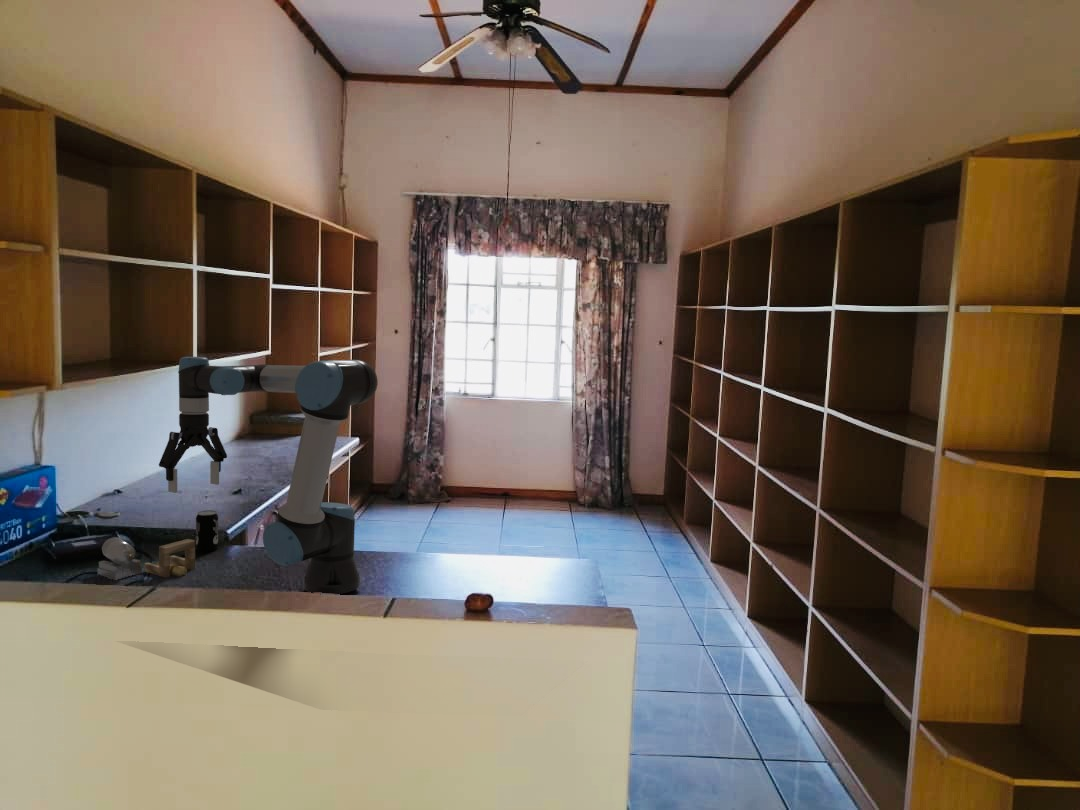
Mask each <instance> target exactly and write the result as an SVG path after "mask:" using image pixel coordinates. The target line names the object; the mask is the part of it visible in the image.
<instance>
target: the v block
mask: <svg viewBox="0 0 1080 810" xmlns="http://www.w3.org/2000/svg"><path fill="white" fill-rule="evenodd" d="M98 574H100V575H103V576H105V577H107V578H106V579H109V580H112V579H113V581H115V580H116V581H119V580H123V579H125V577H126V578H128V576H130V577H132V575H133V576H136V575H140V574H143V566H142V565H141V560H140V559H136V558H134V559H133V560H132V561H131V562H130V563H129V564H126V565H118V564H116V563H114V562H112V561H107V560H100V561H98V567H97V575H98ZM105 577H104V578H105ZM122 578H123V579H122ZM118 579H119V580H118Z"/></svg>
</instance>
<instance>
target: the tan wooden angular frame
mask: <svg viewBox="0 0 1080 810" xmlns="http://www.w3.org/2000/svg"><path fill="white" fill-rule="evenodd" d="M181 551H182V552H183V551H184V557H181V556H177V555H171V554H175V553H180V552H181ZM158 561H159V565H155V564H156V563H151V562H145V563H144V565H143V566H144V572H145V573H148V574H152V575H155V576H159V577H162V578H165V579H166V578H170V577H171V574H170V564H173V565H177V566H181V567H185V568H186V569H187V570H190V571H193V570H195V569H196V539H190V538H186V539H183V540H179V541H175V542H171V543H167V544H164V545H159V546H158Z"/></svg>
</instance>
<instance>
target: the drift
mask: <svg viewBox="0 0 1080 810" xmlns="http://www.w3.org/2000/svg"><path fill="white" fill-rule="evenodd" d="M154 564H155V565H159V560H158V561H157V562H156V563H154ZM187 572H188V569H186V568H185V567H181V566H177V565H173V564H170V576H171V575H172V576H176V577H179V578H181V577H185V576H186V574H187Z"/></svg>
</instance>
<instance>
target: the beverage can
mask: <svg viewBox="0 0 1080 810" xmlns="http://www.w3.org/2000/svg"><path fill="white" fill-rule="evenodd" d="M217 513H218V512H217V511H216V510H211V509H210V510H201V511H198V512H197V513H196V514H197V515H196V516H195V549H196V550H198V551H199V552H213V551H215V550H216V549H217V548H218V547H219V515H218V514H217Z"/></svg>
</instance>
